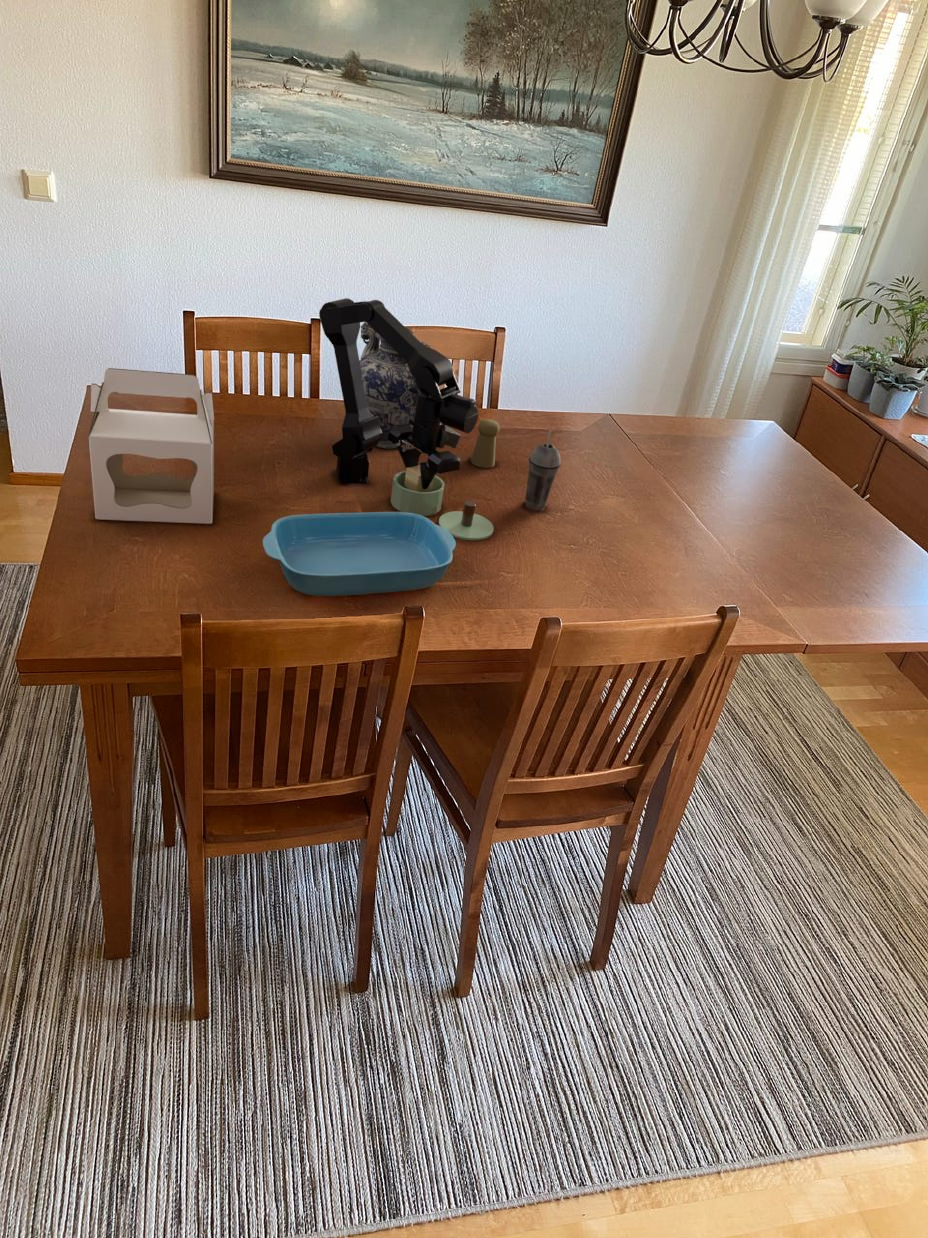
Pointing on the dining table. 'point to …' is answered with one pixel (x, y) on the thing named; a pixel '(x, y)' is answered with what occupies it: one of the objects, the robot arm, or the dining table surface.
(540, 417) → the dining table surface
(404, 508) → the pot
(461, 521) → the lid
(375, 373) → the decorative vase
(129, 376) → the gable box
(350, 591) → the casserole dish
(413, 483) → the block
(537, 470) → the beverage cup
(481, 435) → the pepper mill
